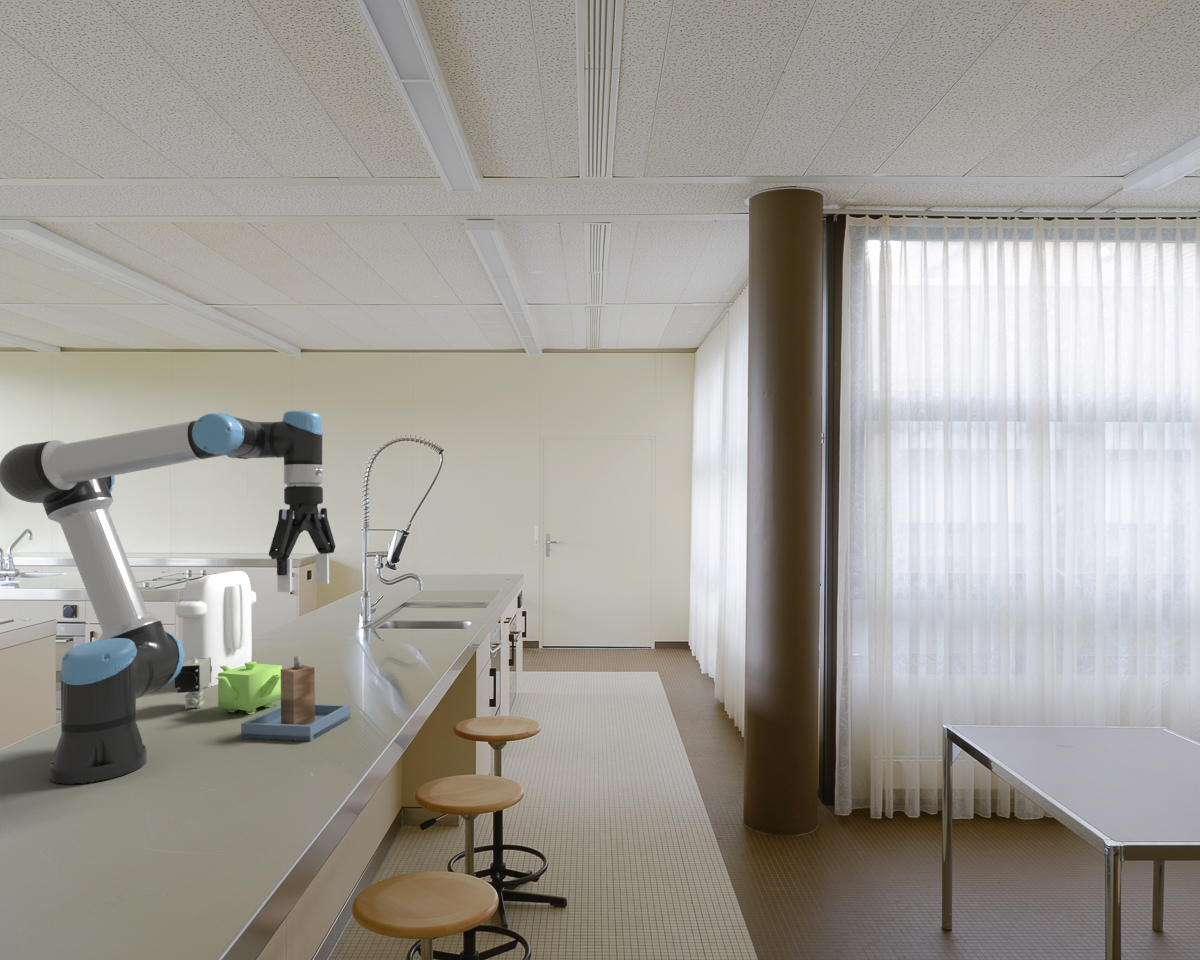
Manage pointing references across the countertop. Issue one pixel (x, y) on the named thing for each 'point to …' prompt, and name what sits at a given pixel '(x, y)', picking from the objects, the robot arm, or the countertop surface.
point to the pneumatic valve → (194, 680)
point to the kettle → (249, 686)
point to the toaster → (218, 620)
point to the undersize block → (298, 694)
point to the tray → (273, 729)
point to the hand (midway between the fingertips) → (304, 587)
